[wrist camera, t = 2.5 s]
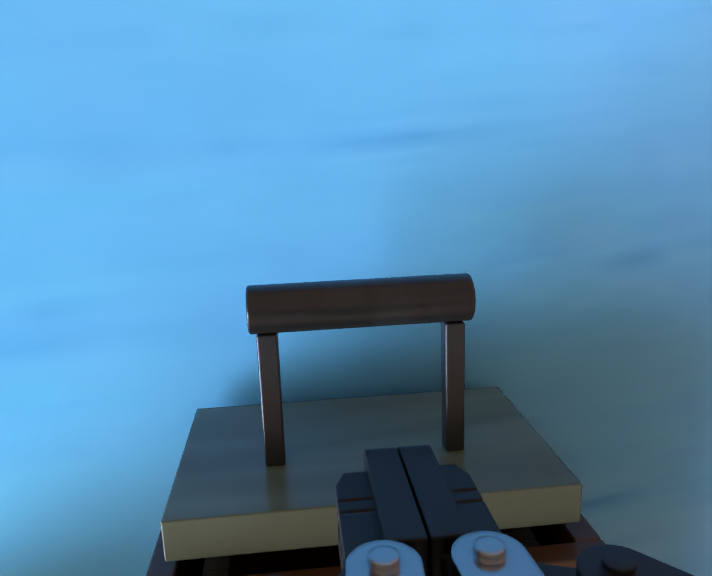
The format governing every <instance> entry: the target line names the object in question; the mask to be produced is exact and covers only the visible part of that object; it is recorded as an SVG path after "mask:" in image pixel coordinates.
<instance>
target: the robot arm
mask: <svg viewBox="0 0 712 576" xmlns="http://www.w3.org/2000/svg"><path fill="white" fill-rule="evenodd" d="M336 503H337V525H338V546H339V555H340V562H341V572H340V573H339V574H338V575H337V576H693V575H691V574H689V573H686V572H684V571H682V570H679V569H677V568H675V567H672V566H670V565H668V564H665V563H663V562H661V561H658V560H656V559H654V558H651V557H649V556H647V555H644V554H642V553H639V552H637V551H635V550H632V549H629V548H626V547H622V546H617V545H595V546H591V547H588V548H586V549H584V550H583V551H581V552H580V554H579V555H578V557H577V562H576V568H571V567H563V566H555V565H548V564H543V563H539V562H536V561H534V560H533V558H532V557H531V555H530V554H529V553H528V551H527V550H526V548H525V547H524V546H523V545H522V544H521V543H520V542H519V541H517V540H516V539H514V538H513V537H510V536H508V535H505V534H502V533H501V531H500V529H499V527H498V526H497V524H496V522H495V520H494V518H493V516H492V515H491V513H490V511H489V509H488V507H487V505H486V504H485V502H484V501H483V498H482V496H481V494H480V493H479V491H478V490H477V487H476V485H475V483H474V482H473V480H472V478H471V476H470V475H469V474H468V473H467V472H465V471H464V470H462V469H461V468H460V467H458V466H457V465H455V464H448V465H439V463H438V461H437V459H436V457H435V455H434V453H433V451H432V448H431V446H430V445H429V444H427V445H414V446H401V447H397V449H396V447H390V448H377V449H364V472H352V473H343V475H342V476H341V478H340V480H339V481H338V483H337V485H336ZM267 576H283V575H267Z"/></svg>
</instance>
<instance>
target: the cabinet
mask: <svg viewBox="0 0 712 576" xmlns="http://www.w3.org/2000/svg"><path fill="white" fill-rule="evenodd" d="M529 528H530V529H531V531H532V533H533V534H534V536H535V537H536V539H537V540H538V542H539V544H540V545H541V546H534V547H525V548H526V550H527V551H528V553H529V554H530V555H531V557H532V558H533V560H534V561H536V562H539V563H543V564H548V565H555V566H563V567H571V568H576V562H577V557H578V555H579V554H580V552H581V551H583V550H584V549H586V548H588V547H591V546H595V545H606V544H605V543H604V542H603V541H602V540H601V539H600V537H599V536H598V535H597V533H596V532H595V531H594V530H593V528H592V527H591V526H590V525H589V523H588V522H587V521H586V520H585V518H584V517H583V516H582V514H581V513H580V521H579V522H573V523H562V524H552V525H542V526H531V527H529ZM204 561H205V558H199V559H189V560H179V561H168V562H166V561H165V559H164V550H163V541H162V533H161V530H160V533H159V537H158V540H157V543H156V546H155V549H154V552H153V556H152V559H151V562H150V565H149V568H148V571H147V574H146V576H202V571H203V566H204ZM340 572H341V566H333V567H323V568H313V569H303V570H293V571H283V572H273V573H263V574H253V575H243V576H267V575H283V576H337V575H338V574H339V573H340Z"/></svg>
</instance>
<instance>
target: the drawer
mask: <svg viewBox="0 0 712 576" xmlns="http://www.w3.org/2000/svg"><path fill="white" fill-rule="evenodd" d="M475 305H476V298H475V289H474V284H473V281H472V278H471V276H470V275H469V274H467V273H462V274H444V275H427V276H409V277H391V278H374V279H356V280H338V281H321V282H303V283H285V284H267V285H250V286H247V288H246V315H247V325H248V331H249V333H250V334H257V337H256V339H257V353H258V367H259V381H260V395H261V404H259V405H246V406H232V407H219V408H205V409H197V411H196V414H195V417H194V420H193V423H192V427H191V430H190V433H189V436H188V439H187V442H186V445H185V448H184V451H183V454H182V458H181V461H180V464H179V467H178V470H177V473H176V476H175V479H174V482H173V485H172V489H171V492H170V495H169V498H168V501H167V504H166V507H165V510H164V513H163V516H162V520H161V523H160V524H161V533H162V541H163V550H164V559H165V561H166V562H168V561H179V560H189V559H199V558H205V561H204V566H203V571H202V576H243V575H253V574H263V573H273V572H283V571H293V570H303V569H313V568H323V567H333V566H341V562H340V555H339V546H338V525H337V503H336V485H337V483H338V481H339V480H340V478H341V476H342V475H343V473H352V472H364V449H377V448H390V447H396V449H397V447H401V446H414V445H427V444H429V445H430V446H431V448H432V451H433V453H434V455H435V457H436V459H437V461H438V463H439V465H448V464H455V465H457V466H458V467H460V468H461V469H462V470H464V471H465V472H467V473H468V474H469V475H470V476H471V478H472V480H473V482H474V483H475V485H476V487H477V490H478V491H479V493H480V494H481V496H482V498H483V501H484V502H485V504H486V505H487V507H488V509H489V511H490V513H491V515H492V516H493V518H494V520H495V522H496V524H497V526H498V527H499V529H500V531H501V533H502V534H505V535H508V536H510V537H513V538H514V539H516V540H517V541H519V542H520V543H521V544H522V545H523V546H524V547H534V546H541V545H540V544H539V542H538V540H537V539H536V537H535V536H534V534H533V533H532V531H531V529H530V528H529V527H531V526H542V525H552V524H562V523H573V522H579V521H580V513H581V493H582V484H581V483H580V481H579V480H578V479H577V478H576V477H575V476H574V474H573V473H572V472H571V471H570V470H569V469H568V467H567V466H566V465H565V464H564V463H563V462H562V461H561V459H560V458H559V457H558V456H557V455H556V454H555V452H554V451H553V450H552V449H551V448H550V447H549V446H548V444H547V443H546V442H545V441H544V440H543V439H542V437H541V436H540V435H539V434H538V433H537V432H536V430H535V429H534V428H533V427H532V426H531V425H530V424H529V422H528V421H527V420H526V419H525V418H524V417H523V415H522V414H521V413H520V412H519V411H518V410H517V408H516V407H515V406H514V405H513V404H512V403H511V402H510V400H509V399H508V398H507V397H506V396H505V395H504V393H503V392H502V391H501V390H500V389H499V388H498V387H488V388H474V389H465V324H464V322H463V321H469V320H471V319H472V318H473V316H474V312H475ZM437 322H441V367H442V391H434V392H420V393H407V394H394V395H380V396H367V397H353V398H340V399H326V400H313V401H299V402H286V403H282V392H281V376H280V361H279V345H278V333H281V332H296V331H312V330H328V329H343V328H359V327H375V326H390V325H406V324H422V323H437Z"/></svg>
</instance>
